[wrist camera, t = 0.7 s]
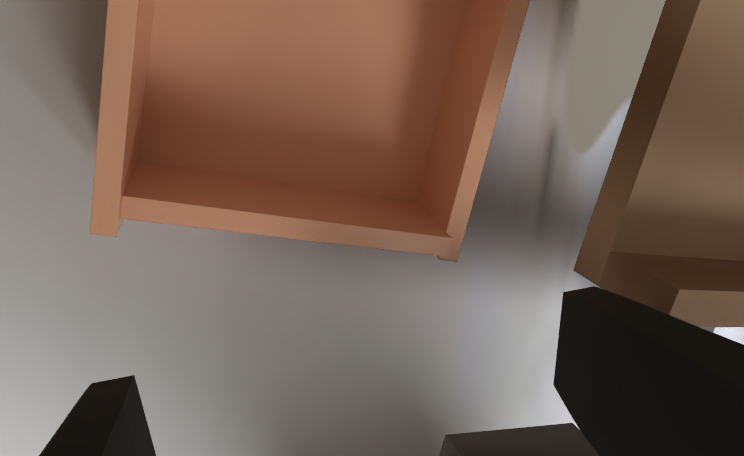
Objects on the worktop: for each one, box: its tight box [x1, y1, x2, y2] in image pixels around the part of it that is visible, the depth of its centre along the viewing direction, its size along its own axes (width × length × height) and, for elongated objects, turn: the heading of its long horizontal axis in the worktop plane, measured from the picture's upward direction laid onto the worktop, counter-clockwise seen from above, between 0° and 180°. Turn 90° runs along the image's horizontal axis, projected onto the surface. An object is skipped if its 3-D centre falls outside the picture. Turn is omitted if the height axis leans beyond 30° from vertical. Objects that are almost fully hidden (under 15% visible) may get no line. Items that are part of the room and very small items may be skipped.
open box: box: [90, 0, 530, 262], centre depth 16 cm, size 11×10×4 cm
